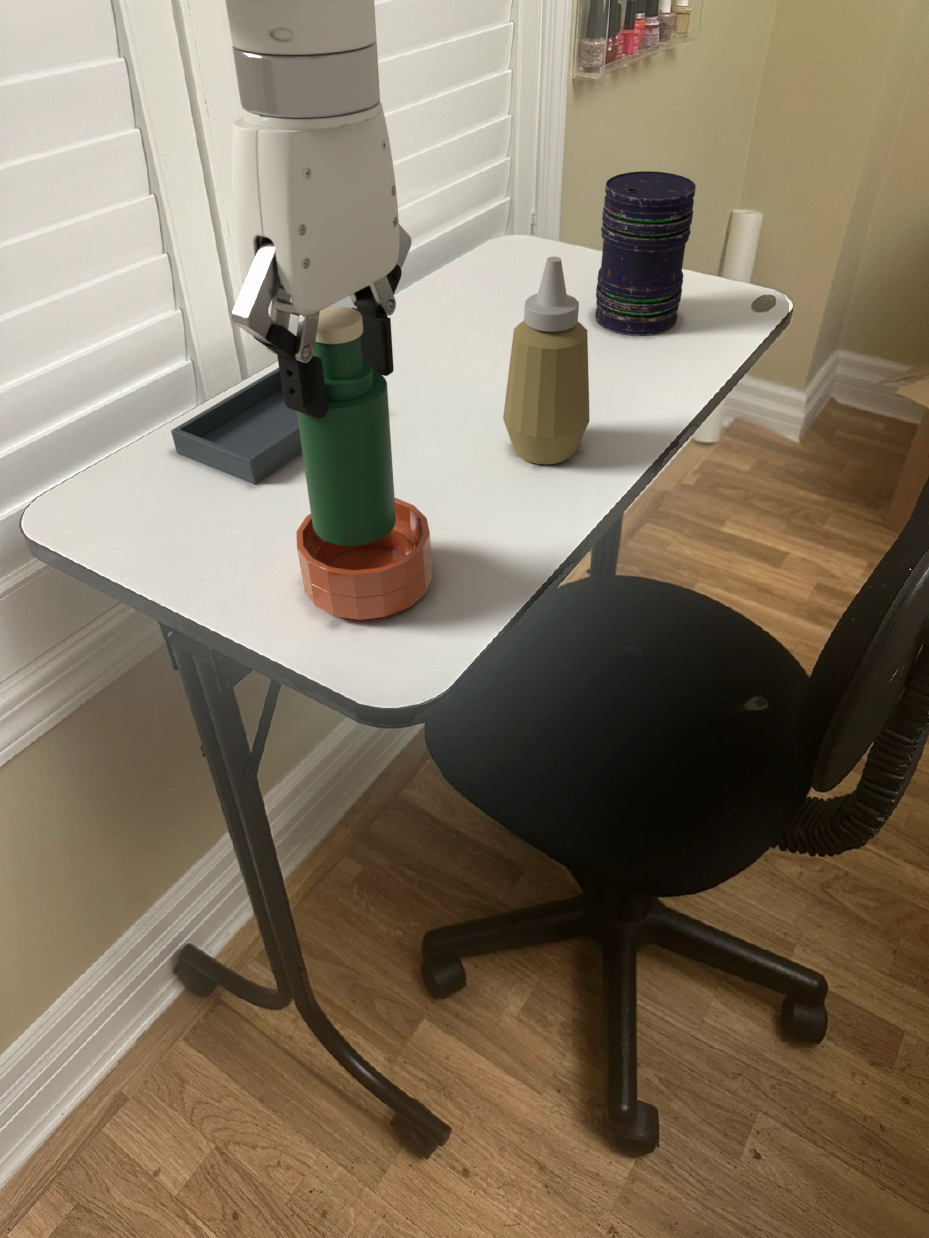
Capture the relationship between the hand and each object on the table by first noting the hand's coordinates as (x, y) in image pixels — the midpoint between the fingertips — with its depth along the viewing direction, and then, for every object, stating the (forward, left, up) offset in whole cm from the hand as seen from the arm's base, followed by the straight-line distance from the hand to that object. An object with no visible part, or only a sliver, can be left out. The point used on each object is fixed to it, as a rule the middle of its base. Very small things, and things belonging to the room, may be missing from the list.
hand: (340, 387), depth 60 cm
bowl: (0, 0, -17) cm, 17 cm away
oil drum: (+35, +44, -17) cm, 59 cm away
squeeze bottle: (+18, +17, -17) cm, 30 cm away
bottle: (0, 0, -11) cm, 11 cm away
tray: (-8, +25, -17) cm, 31 cm away
